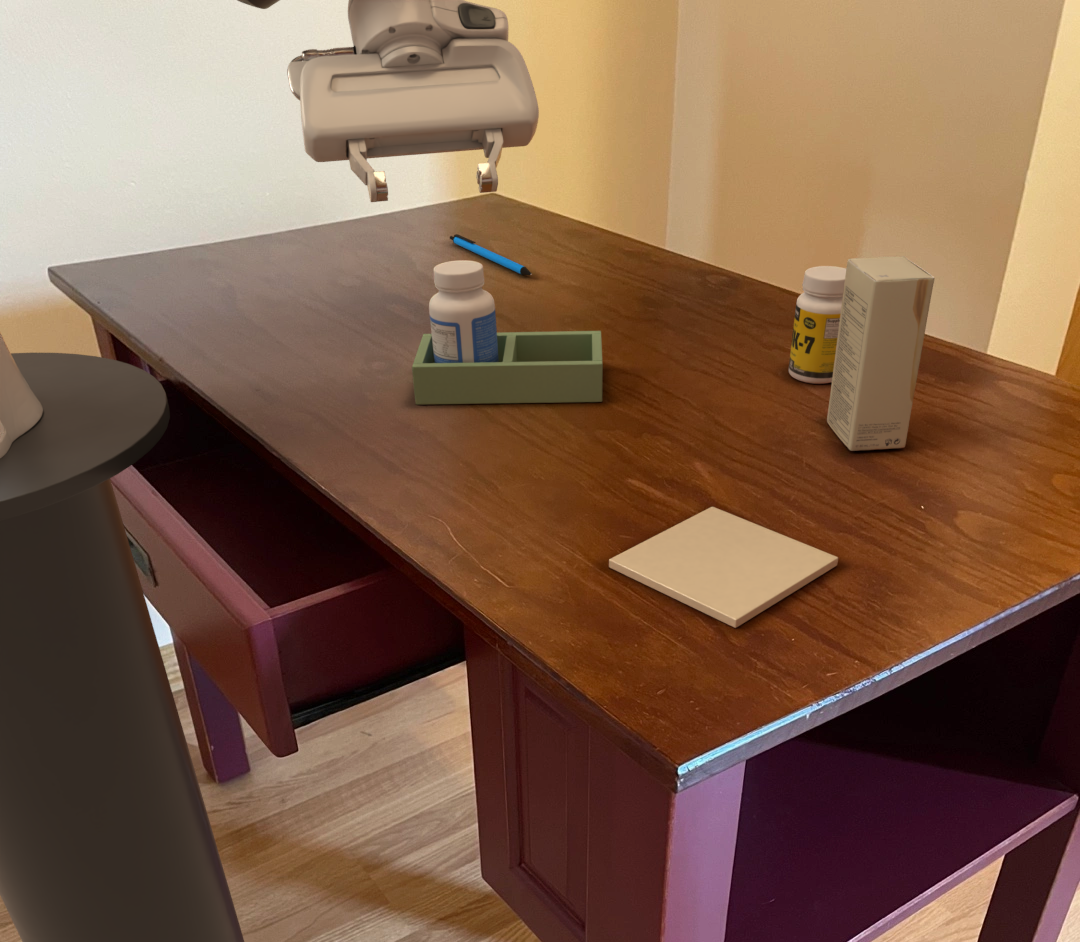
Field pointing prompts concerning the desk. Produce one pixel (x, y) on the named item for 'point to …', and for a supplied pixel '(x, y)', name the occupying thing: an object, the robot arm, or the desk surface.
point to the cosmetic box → (878, 351)
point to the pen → (489, 254)
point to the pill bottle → (462, 315)
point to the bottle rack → (516, 371)
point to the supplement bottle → (817, 325)
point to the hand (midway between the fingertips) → (434, 193)
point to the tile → (723, 565)
